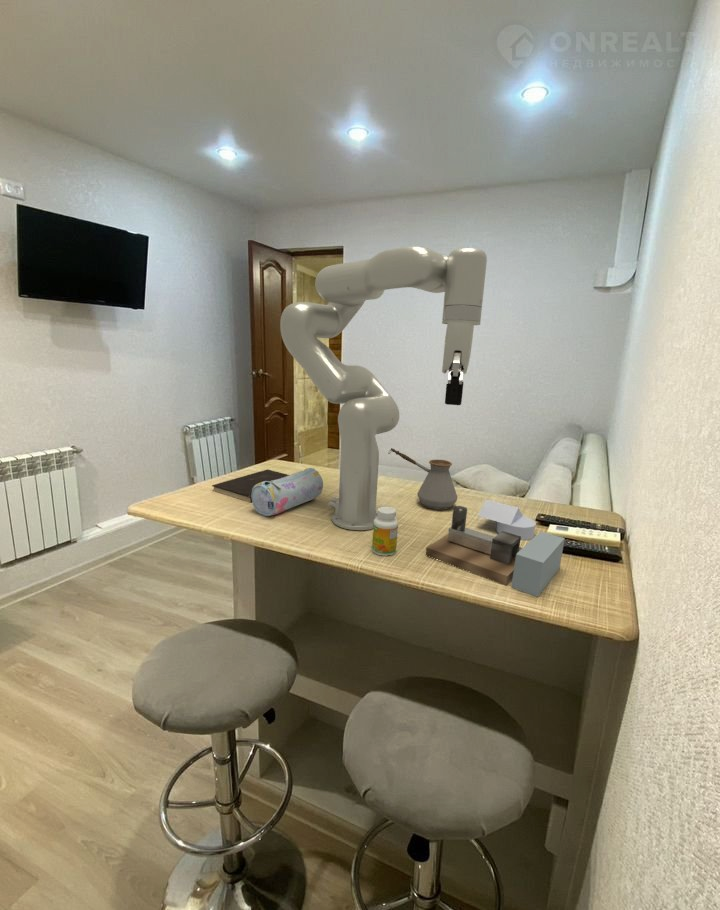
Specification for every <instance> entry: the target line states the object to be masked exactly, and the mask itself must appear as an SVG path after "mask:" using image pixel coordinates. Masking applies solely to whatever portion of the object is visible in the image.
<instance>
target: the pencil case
mask: <svg viewBox="0 0 720 910" xmlns="http://www.w3.org/2000/svg"><path fill="white" fill-rule="evenodd" d="M288 475H289V476H286V477H283V478H280V479H276V480H273V481H264V482H261V483H258V484H256V485H255V486H254V487H253V489H252V505H253V508H254V510H255V512H257V513H258V514H259V515H261V516H264V517H271V516H276V515H279V514H281V513H283V512H286V511H287V510H290V509H293V508H295V507H297V506H299V505H301V504H302V505H303V504H305V503H307V502H309V501H312V500H313V499H316V498H317V497H319V496H321V494H322V491H323V488H324V481H323V478H322V476H321V474H320V472H319V471H318V470H317V469H315V468H312V467H308V468H305V469H303V470H300V471H296V472H294V473H292V474H288Z"/></svg>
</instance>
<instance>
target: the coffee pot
mask: <svg viewBox="0 0 720 910" xmlns="http://www.w3.org/2000/svg"><path fill="white" fill-rule="evenodd" d="M391 453H394V454H396V455H398V456H399V457H401V459H404V460H405V461H407V462H409V463H411V464H413V465H416V466H417V467H418V468H420V469H422V470H424V471H425V472H427V475H426V477H425V479H424V481H423V482H422V483H421V486H420V488H419V490H418V491H417V497H418V500H419V501H420V503H422V504H423V506H424V507H426V508H428V509H432V510H440V511H441V510H447V509H449V508H450V507H451V506H454V504H455V503H456V502H457V500H458V494H457V491H456V489H455V484H454V483H453V479H452V476H451V472H450V467H451V466H452V465H453V463H452V462H451V461H448V460H445V459H432V460H431V459H430V460H429V462H428V463H429V464H430V465H429V466H430V469H429V468H428V467H426V466H424V465H422V464H421V463H419V462H417V461H416V460H414V459H413V458H411V457H409V456H408V455H406V454H404V453H402V452H400V451H399V450H395V449H394V448H392V447H391V448H390V449H389V451H388V454H387V455H390V454H391Z"/></svg>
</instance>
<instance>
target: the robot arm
mask: <svg viewBox="0 0 720 910" xmlns="http://www.w3.org/2000/svg"><path fill="white" fill-rule="evenodd" d="M487 260H488V259H487V254H486V252H485V251H484V250H482V249H479V248H475V247H464V248H457V249H454V250H452V251H450V253H449V254H448V255H446V254H442V253H441V252H440V253H439V252H437V251H434V250H432V249H429V248H428V247H424V246H419V245H413V246H412V245H411V246H404V247H397V248H392V249H387V250H383V251H380V252H378V253H377V254H376V255H374V256H371V258H368V259H363V260H356V261H349V262H344V263H343V262H342V263H336V264H332V265H329V266H326V267H324V268H322V269H321V270H319V272H318V273H317V275H316V278H315V281H314V282H315V284H314V285H315V290H316V293H317V294H318V296H320V297H321V298H322V299H323V300H324V301H327V304H322V303H316V302H309V301H297V302H292V303H290V304H289V305H287V306H285V308H284V309H283V311H282V313H281V316H280V324H279V326H280V335H281V339H282V341H283V344H284V345H285V348H286V349H287V351H288V352H289V354H290V355H291V356H292V357H293V359H294V360H295V361H296V362H297V363H298V365H299V366H301V368H303V370H304V372H305V373H306V375H307V377H309V378H310V381H312V383H313V384H314V385H315V387H316V388H317V389H318V391H319V392H320V393H321V396H323V398H325V399H326V401H327V402H329V403H330V404H331V403H332V404H336V405H337V404H338V405H339V404H340V405H342V406H341V407H340V408H339V411H338V416H337V424H338V431H339V438H340V461H339V462H340V463H339V465H340V467H339V488H338V489H339V490H338V497H336V496H334V497H332V498H331V500H330V501H329V502H328V506H329V507H331V508H334V509H335V510H334V512H333V513H332V515H331V520H332V523H333V525H335V526H337V527H339V528H341V529H345V530H351V531H367V530H373V524H374V519H375V518H376V517H378V516H377V510H376V508H377V494H378V479H379V463H380V462H379V461H380V451H379V450H380V449H379V446H378V443H377V439H376V435H380V434H383V433H388V432H390V431H392V430H393V429H395V428H396V427H397V425H398V423H399V421H400V410H399V406H398V405H397V403H396V401H395V400H394V398H393V396H392V395H391V394H390V393H389V392H388V390H386V388H385V387H384V385H383V384H382V383H381V381H379V379H378V378H377V376H375V374H374V373H373V372H371V371H370V370H369V369H368V368H366V367H364V366H360V365H347V364H344V363H343V362H341V360H339V358H338V357H337V356H336V355H335V354H334V352H333V351H332V349H331V348H330V347H329V346H327V345H326V344H325V343H323V341H321V340H320V339H333V338H335V337H338V336H339V334H341V333H342V332H343V331H344V330H345V328H347V326H348V324H349V323H350V322H351V321H352V319H354V317H355V316H356V315H357V314H358V312H359V310H360V309H362V306H364V303H365V302H366V301H369V300H370V301H371V300H378V299H380V298H381V297H382V295H384V292H385V291H386V290H394V289H404V288H413V289H417V290H421V291H424V292H428V293H433V294H440V293H444V297H443V308H442V321H441V324H442V325H446V331H445V338H444V345H443V347H444V348H443V356H442V357H443V358H442V368H441V369H442V370H441V372H442V373H443V374H446V373H448V376H447V377H448V379H447V383H446V385H445V386H446V387H445V395H444V404H445V405H451V406H461V405H462V402H463V401H462V400H463V399H462V398H463V390H464V381H463V378H464V375H466V374H467V372H468V369H469V365H470V358H471V353H472V347H473V338H474V328H475V327H474V326H480V325H481V321H482V310H483V309H482V308H483V303H484V302H483V301H484V291H485V282H486V273H487V272H486V271H487V262H488V261H487Z"/></svg>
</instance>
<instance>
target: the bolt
mask: <svg viewBox="0 0 720 910" xmlns="http://www.w3.org/2000/svg"><path fill="white" fill-rule="evenodd" d="M467 516H468V508H467V507H466V506H462V505H453V509H452V518H451V519H452V520H451V526H450V527H448V533H447V534H448V541H451V542H454V543H457V544H460V545H463V546H466V547H469V548H472V549H475V550H478V551H481V552H484V553H487V554H491V547H492V539H493V538H494V537H496V536H495V535H491V534H488V533H485V532H481V531H478V530H475V529H473V528H472V529H471V528H468V527H466V524H467V523H466V522H467Z"/></svg>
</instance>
